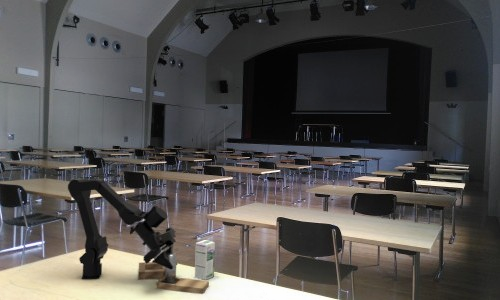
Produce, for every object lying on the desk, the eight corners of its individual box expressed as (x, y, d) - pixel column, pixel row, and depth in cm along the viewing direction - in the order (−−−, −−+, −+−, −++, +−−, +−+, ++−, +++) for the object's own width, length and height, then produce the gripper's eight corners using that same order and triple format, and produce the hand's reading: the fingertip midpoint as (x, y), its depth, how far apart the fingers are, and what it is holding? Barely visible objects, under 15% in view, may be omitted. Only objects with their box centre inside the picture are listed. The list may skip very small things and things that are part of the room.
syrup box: (205, 280, 167) (207, 244, 167) (194, 277, 170) (195, 241, 170) (214, 276, 172) (215, 241, 171) (202, 273, 175) (204, 239, 175)
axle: (165, 287, 158) (166, 255, 157) (164, 283, 162) (165, 252, 161) (175, 286, 159) (177, 255, 158) (175, 282, 163) (176, 252, 162)
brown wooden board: (156, 288, 157) (156, 283, 157) (164, 281, 165) (164, 275, 165) (202, 293, 154) (202, 288, 153) (208, 286, 161) (208, 281, 161)
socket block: (138, 279, 165) (138, 272, 165) (138, 269, 177) (138, 262, 176) (169, 278, 168) (169, 271, 168) (167, 268, 179) (167, 261, 179)
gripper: (152, 227, 151) (180, 261, 149) (172, 217, 169) (197, 247, 167) (131, 246, 152) (158, 280, 151) (153, 234, 171) (177, 264, 169)
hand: (174, 266), depth 160 cm, fingers closed on axle, 4 cm apart
